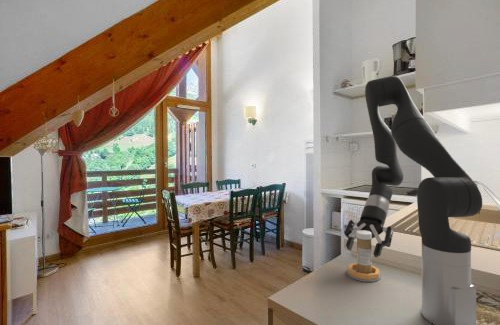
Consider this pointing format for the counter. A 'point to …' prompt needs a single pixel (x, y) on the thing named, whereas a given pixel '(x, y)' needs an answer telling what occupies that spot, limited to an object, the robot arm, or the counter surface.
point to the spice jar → (364, 251)
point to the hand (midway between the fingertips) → (361, 252)
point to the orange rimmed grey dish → (363, 277)
